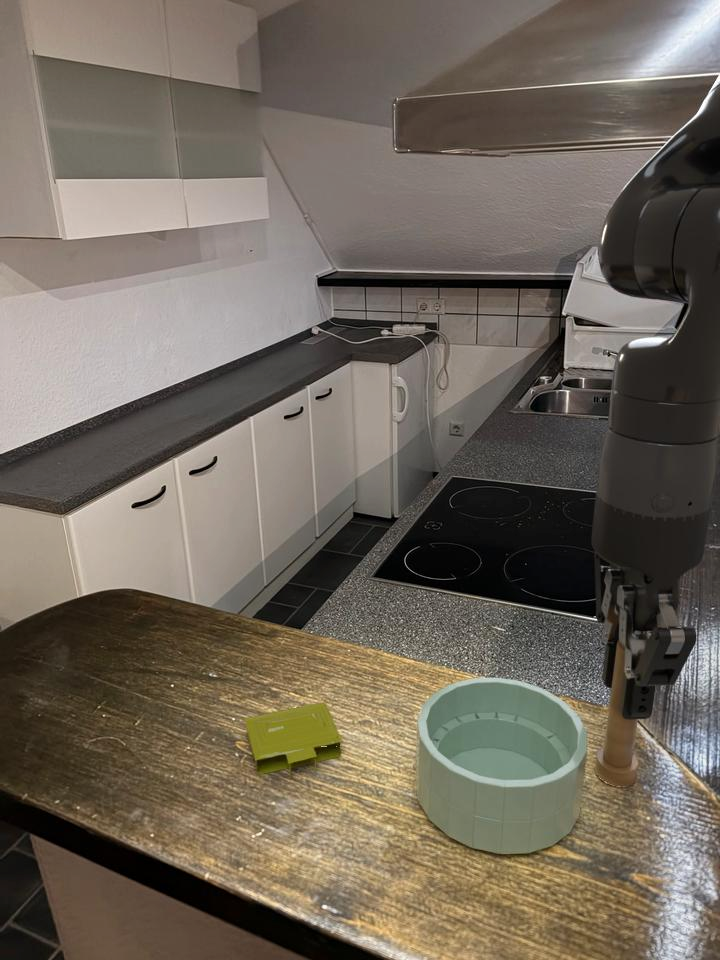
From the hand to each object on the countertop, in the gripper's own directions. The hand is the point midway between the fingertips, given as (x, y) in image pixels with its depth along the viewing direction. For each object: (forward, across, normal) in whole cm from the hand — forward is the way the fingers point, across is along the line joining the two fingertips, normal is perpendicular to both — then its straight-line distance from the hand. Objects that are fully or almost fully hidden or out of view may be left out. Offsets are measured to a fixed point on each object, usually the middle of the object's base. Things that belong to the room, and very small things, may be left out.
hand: (625, 699), depth 59 cm
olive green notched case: (+7, +4, +26) cm, 27 cm away
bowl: (+7, -2, +10) cm, 12 cm away
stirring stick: (+7, 0, 0) cm, 7 cm away
